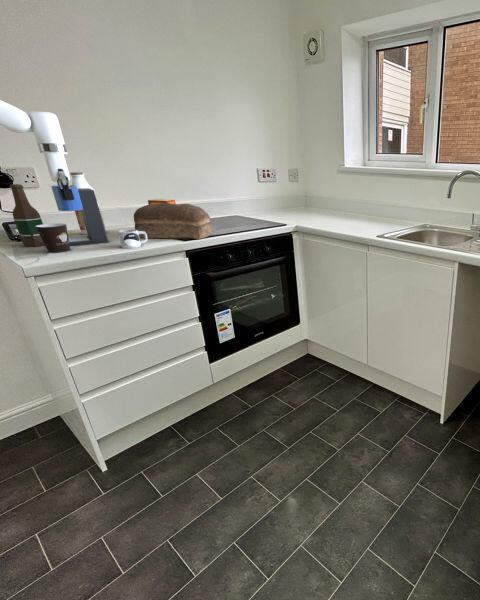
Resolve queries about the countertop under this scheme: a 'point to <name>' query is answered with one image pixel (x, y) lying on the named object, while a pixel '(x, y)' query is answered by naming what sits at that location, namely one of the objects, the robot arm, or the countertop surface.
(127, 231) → the mug
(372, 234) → the countertop surface
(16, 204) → the beer bottle
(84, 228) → the fruit juice
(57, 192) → the blue cup
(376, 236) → the countertop surface
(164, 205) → the bread
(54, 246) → the coffee mug
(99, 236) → the dark grey upright panel
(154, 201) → the baking soda box
